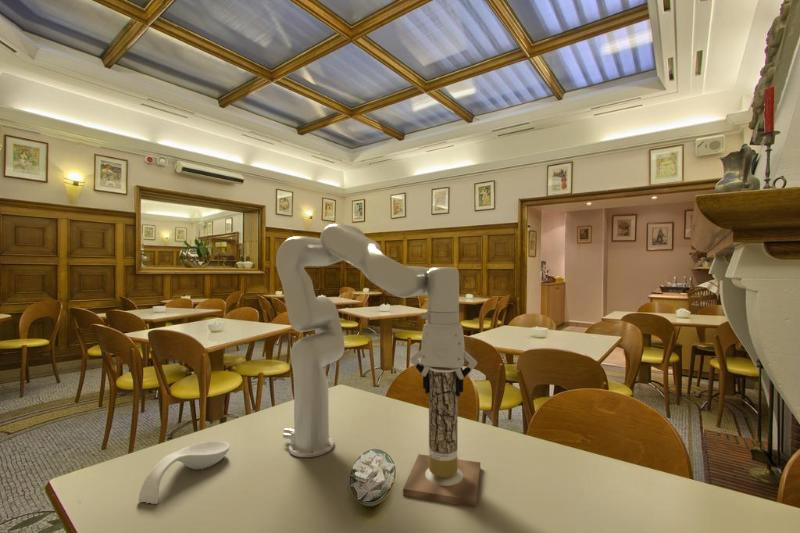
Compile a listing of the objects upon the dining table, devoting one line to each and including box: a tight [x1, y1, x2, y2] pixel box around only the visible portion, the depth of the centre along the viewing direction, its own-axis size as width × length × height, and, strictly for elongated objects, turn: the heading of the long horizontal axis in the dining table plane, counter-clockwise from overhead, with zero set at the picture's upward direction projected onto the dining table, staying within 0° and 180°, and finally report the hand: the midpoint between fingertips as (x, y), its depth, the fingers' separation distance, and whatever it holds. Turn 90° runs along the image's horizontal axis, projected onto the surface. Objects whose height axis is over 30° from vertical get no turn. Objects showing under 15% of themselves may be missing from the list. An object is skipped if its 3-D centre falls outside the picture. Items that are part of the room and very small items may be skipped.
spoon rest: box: [138, 440, 231, 505], centre depth 92 cm, size 24×12×7 cm, turn 170°
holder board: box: [402, 453, 481, 508], centre depth 88 cm, size 16×16×2 cm
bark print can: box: [428, 367, 459, 478], centre depth 88 cm, size 7×7×25 cm
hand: (443, 392), depth 88 cm, fingers closed on bark print can, 6 cm apart
